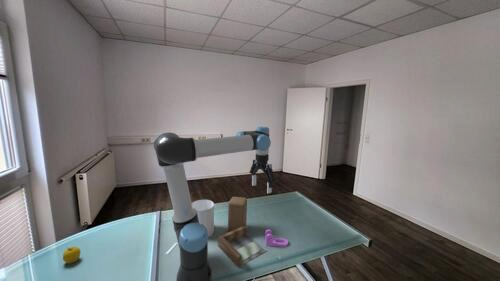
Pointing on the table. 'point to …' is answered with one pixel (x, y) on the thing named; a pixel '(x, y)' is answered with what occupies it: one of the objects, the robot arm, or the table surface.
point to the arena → (239, 246)
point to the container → (205, 214)
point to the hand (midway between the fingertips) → (261, 188)
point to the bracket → (274, 240)
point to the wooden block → (237, 213)
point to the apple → (71, 254)
